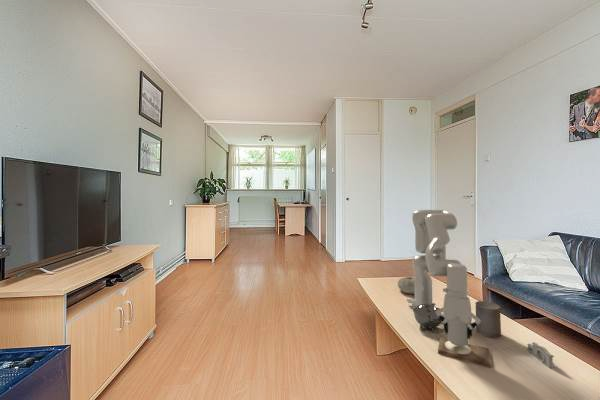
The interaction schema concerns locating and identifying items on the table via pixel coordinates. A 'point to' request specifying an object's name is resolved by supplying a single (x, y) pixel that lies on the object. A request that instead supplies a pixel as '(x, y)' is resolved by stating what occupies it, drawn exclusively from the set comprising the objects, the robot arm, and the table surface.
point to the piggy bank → (427, 316)
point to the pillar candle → (488, 319)
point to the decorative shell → (407, 285)
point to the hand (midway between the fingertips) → (457, 334)
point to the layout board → (465, 352)
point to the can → (457, 332)
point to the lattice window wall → (538, 352)
